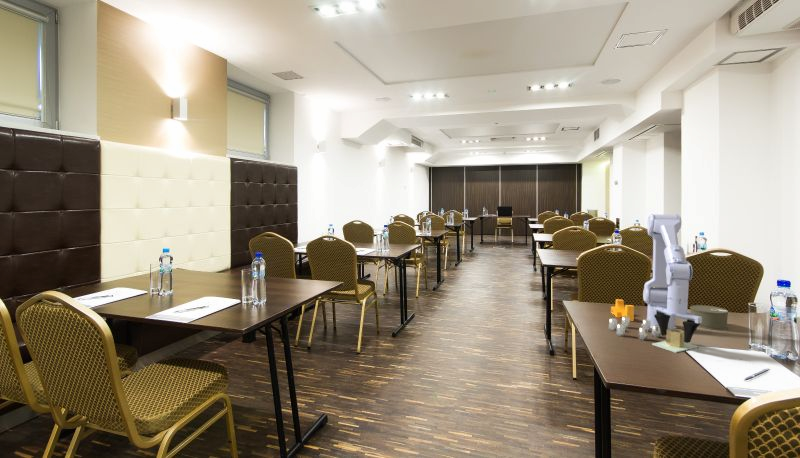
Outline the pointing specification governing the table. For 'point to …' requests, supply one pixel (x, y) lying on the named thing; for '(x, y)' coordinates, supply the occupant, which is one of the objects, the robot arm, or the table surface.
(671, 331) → the brass nut
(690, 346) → the pad
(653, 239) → the robot arm
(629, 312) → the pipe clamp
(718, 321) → the can
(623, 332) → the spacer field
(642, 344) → the table surface
